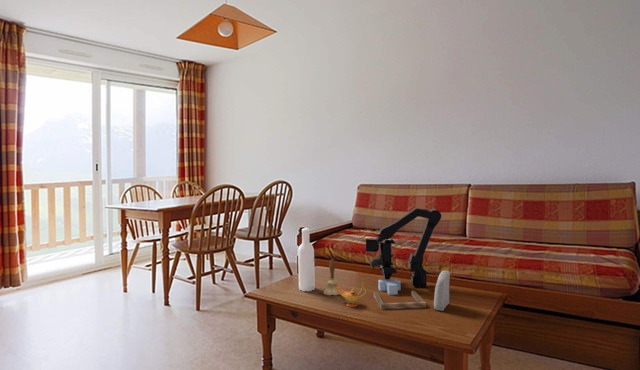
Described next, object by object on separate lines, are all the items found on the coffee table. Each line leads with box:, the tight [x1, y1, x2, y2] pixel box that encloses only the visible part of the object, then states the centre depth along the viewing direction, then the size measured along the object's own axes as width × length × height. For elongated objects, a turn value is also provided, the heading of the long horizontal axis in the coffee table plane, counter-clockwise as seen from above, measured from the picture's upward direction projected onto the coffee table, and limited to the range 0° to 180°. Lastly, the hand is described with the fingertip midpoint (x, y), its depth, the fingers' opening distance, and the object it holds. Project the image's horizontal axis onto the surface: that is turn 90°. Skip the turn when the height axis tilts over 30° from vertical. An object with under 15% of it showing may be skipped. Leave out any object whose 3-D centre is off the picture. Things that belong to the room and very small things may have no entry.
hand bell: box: [323, 259, 341, 296], centre depth 182 cm, size 8×8×16 cm
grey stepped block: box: [377, 278, 402, 296], centre depth 182 cm, size 10×10×4 cm
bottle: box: [297, 227, 316, 292], centre depth 188 cm, size 8×8×30 cm
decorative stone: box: [433, 270, 451, 312], centre depth 160 cm, size 11×6×15 cm, turn 151°
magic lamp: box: [332, 281, 367, 308], centre depth 166 cm, size 7×18×11 cm, turn 50°
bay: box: [373, 290, 427, 310], centre depth 167 cm, size 19×16×2 cm
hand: (386, 283), depth 192 cm, fingers closed
